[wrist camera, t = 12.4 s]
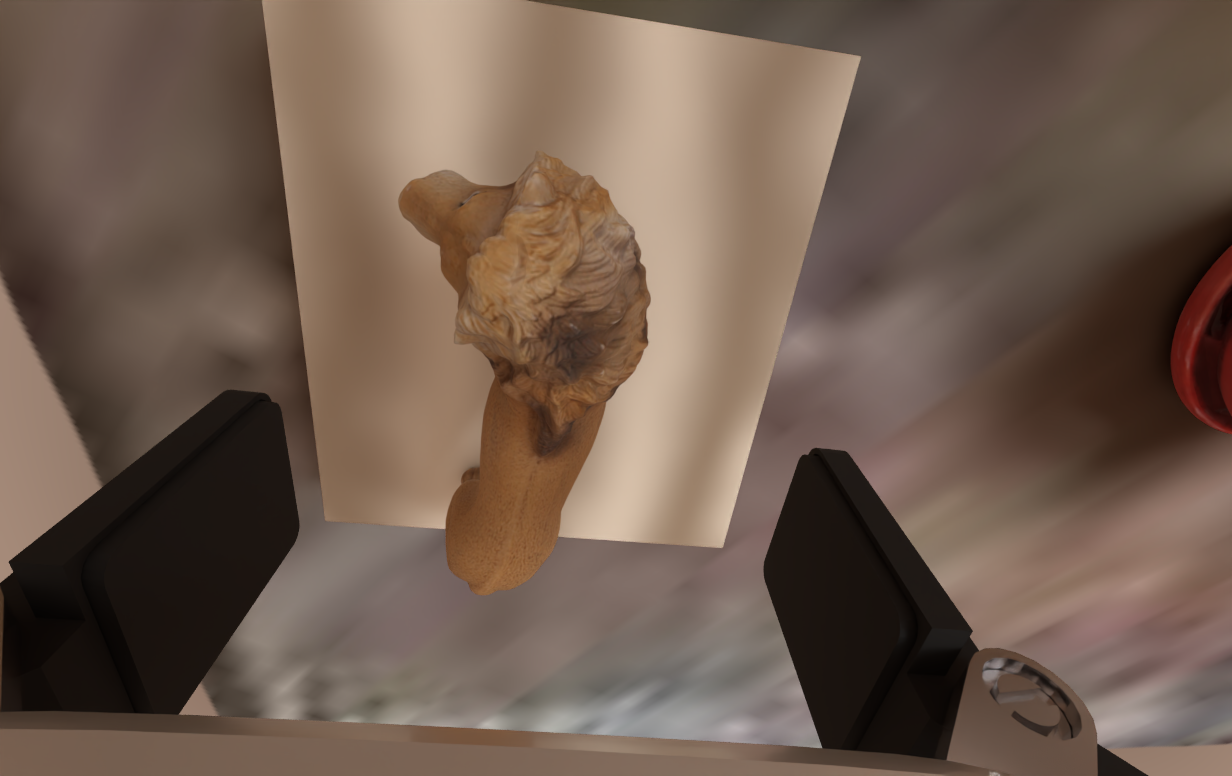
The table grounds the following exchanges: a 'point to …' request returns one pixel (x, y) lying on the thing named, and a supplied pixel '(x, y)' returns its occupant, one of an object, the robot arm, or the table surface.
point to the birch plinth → (496, 156)
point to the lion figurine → (532, 347)
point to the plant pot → (1207, 348)
